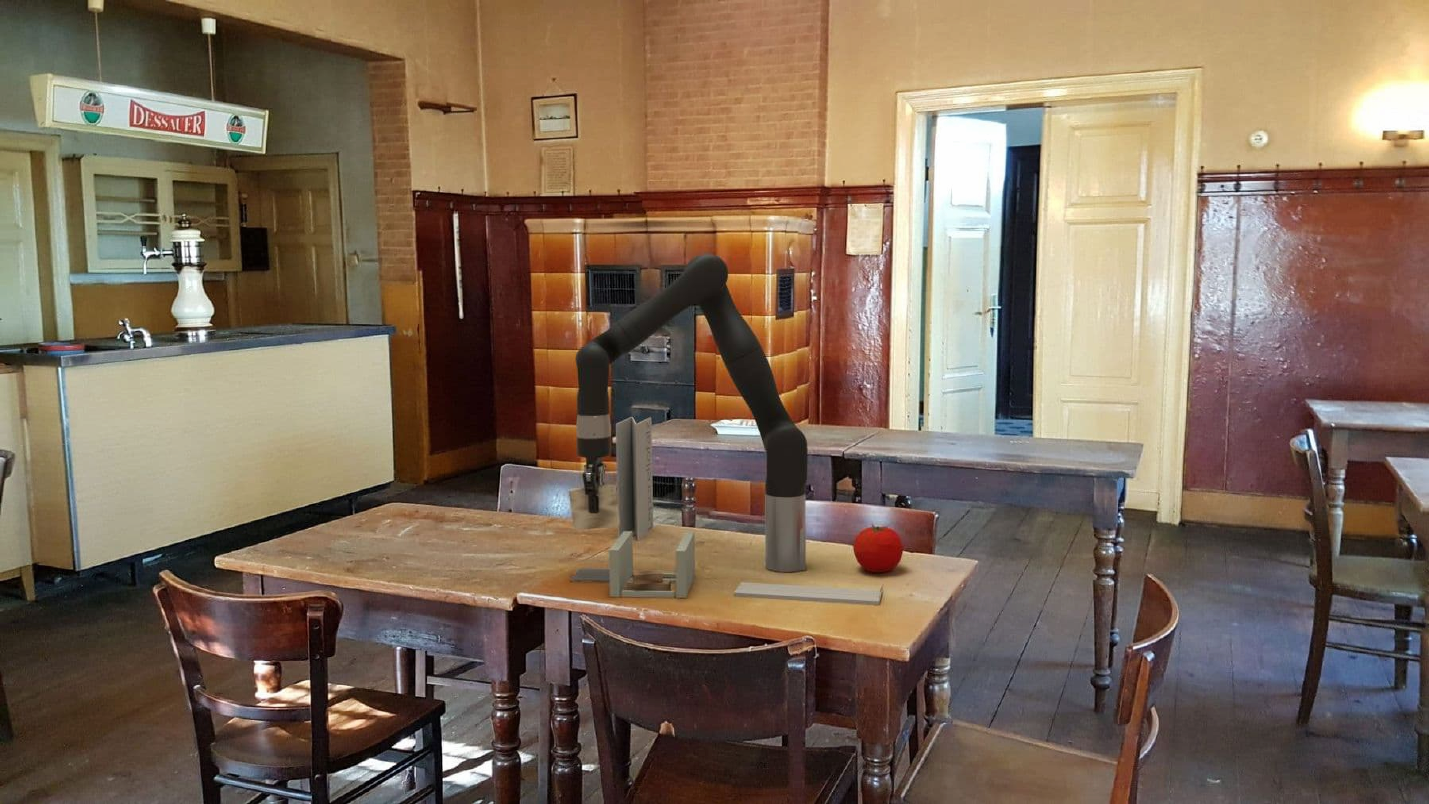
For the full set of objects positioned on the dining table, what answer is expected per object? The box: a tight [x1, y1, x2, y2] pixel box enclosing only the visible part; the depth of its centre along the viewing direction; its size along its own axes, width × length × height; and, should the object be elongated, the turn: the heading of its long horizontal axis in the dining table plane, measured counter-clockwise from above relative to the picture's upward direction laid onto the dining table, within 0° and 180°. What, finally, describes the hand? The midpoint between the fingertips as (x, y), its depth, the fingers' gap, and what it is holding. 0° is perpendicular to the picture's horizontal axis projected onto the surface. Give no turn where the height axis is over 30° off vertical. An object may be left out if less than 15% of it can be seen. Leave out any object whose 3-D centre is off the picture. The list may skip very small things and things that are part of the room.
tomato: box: [852, 523, 904, 573], centre depth 235 cm, size 11×13×10 cm
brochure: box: [615, 416, 654, 541], centre depth 271 cm, size 14×6×30 cm, turn 168°
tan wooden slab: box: [568, 483, 620, 531], centre depth 231 cm, size 10×2×9 cm, turn 84°
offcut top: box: [632, 569, 664, 584], centre depth 219 cm, size 6×3×2 cm, turn 102°
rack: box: [608, 530, 696, 599], centre depth 224 cm, size 16×16×10 cm
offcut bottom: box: [625, 579, 672, 591], centre depth 219 cm, size 9×3×3 cm, turn 84°
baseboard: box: [733, 581, 884, 606], centre depth 218 cm, size 30×3×10 cm
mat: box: [570, 568, 610, 583], centre depth 233 cm, size 10×9×1 cm
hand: (595, 511), depth 231 cm, fingers closed on tan wooden slab, 2 cm apart
